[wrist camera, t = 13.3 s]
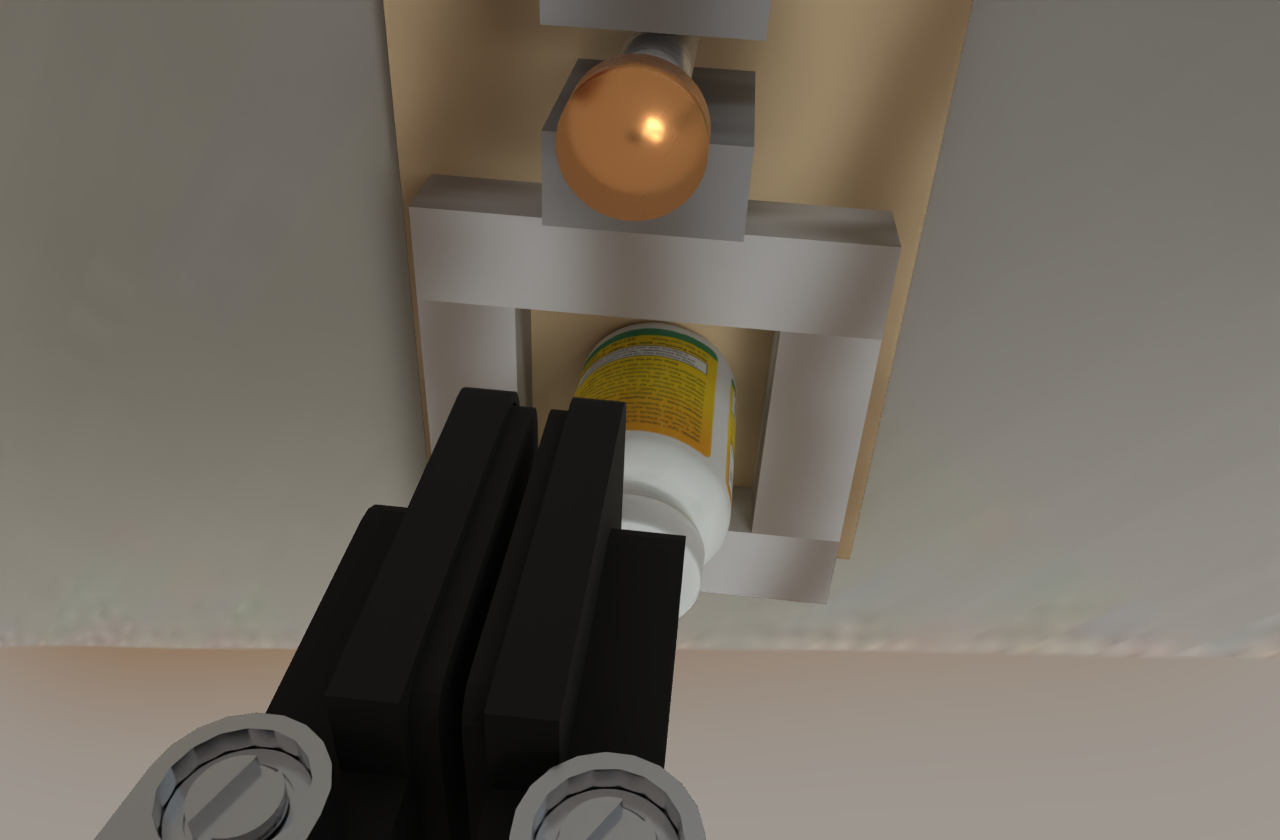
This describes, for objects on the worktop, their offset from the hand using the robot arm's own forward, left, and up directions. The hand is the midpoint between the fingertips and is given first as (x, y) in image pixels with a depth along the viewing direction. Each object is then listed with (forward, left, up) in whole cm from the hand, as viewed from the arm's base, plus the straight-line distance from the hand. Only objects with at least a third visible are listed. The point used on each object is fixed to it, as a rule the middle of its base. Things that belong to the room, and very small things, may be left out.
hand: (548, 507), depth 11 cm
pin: (0, 0, -20) cm, 20 cm away
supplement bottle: (0, +12, -21) cm, 24 cm away
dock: (0, +8, -22) cm, 23 cm away
